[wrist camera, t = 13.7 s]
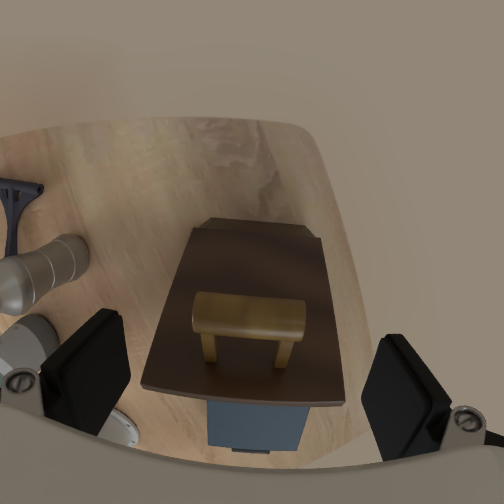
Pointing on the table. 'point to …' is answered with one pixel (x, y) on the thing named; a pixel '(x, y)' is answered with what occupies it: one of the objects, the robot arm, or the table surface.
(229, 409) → the cabinet
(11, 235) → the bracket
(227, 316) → the lid
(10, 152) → the table surface
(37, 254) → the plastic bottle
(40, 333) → the smart speaker
